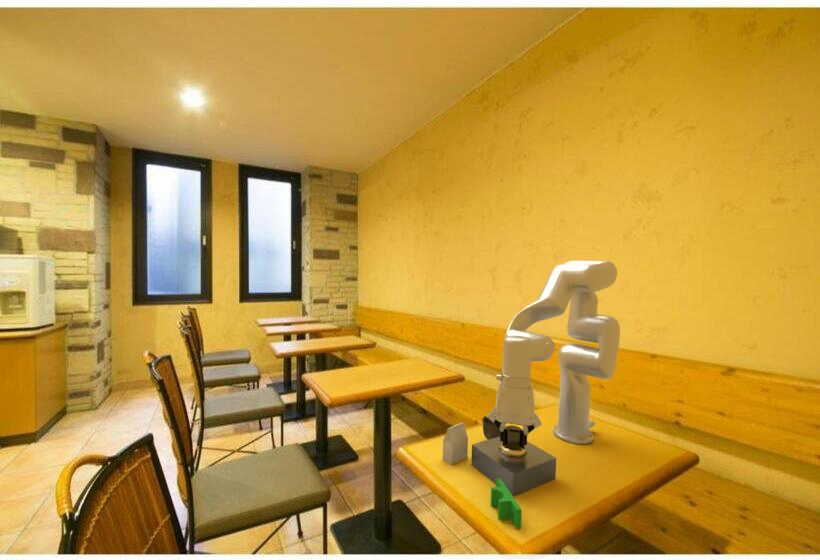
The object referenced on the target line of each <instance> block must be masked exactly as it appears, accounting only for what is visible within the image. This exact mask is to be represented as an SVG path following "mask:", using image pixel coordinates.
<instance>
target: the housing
mask: <svg viewBox="0 0 820 560" xmlns="http://www.w3.org/2000/svg"><path fill="white" fill-rule="evenodd" d="M502 442H503V441H500V436H499V437H496V438H493V439H489V440H487V439H486V440H483V441H480V442H476V443H473V444H471V460H470V461H471V463H470V464H471V466H472V467H473V468H474V469H476V470H477V471H478V472H480V473H481V474H482V475H483V476H485V477H486V478H487V479H489V481H491V482H493V483H494V484H495V485H496V479H501V480H502V481H503V483H504V484H505V486H506V487H507V489H508V490H509V492H510V493H511V495H512V496H513V497H517V496H519V495H522V494H525V493H526V492H529V491H532V490H533V489H536V488H538V487H540V486H543V485H545V484H548V483H550V482H553V481H555V480H556V477H557V476H556V475H557V474H556V472H557V471H556V470H557V457H555V456H554V455H552V454H551V453H549V452H547V451H546V450H544V449H542V448H540V447H538V446H537V445H534V444H533V443H531V442H529V441H528V440H527V445H524V446H525V447H526V454H525V455H524V456H523V457H516V458H512V457H510V456H507V455H505V454H504V453H502V452H501V450H500V445H501V443H502Z"/></svg>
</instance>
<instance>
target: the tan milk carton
mask: <svg viewBox="0 0 820 560" xmlns="http://www.w3.org/2000/svg"><path fill="white" fill-rule="evenodd" d="M442 441H443V443H442V460H443V461H444V462H446V463H448V464H449V465H451V466H453V465H455V464H457V463H458V462H461V461H462V460H464V459H467V458H468V453H469V451H468V450H469V449H468V448H469V445H468V444H469V438H468V433H467V429H466V427H465V422H460V423H457V424H455V425H453V426H450V427H448V428H447V430H446V433H445V435H444V437H443V439H442Z"/></svg>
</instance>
